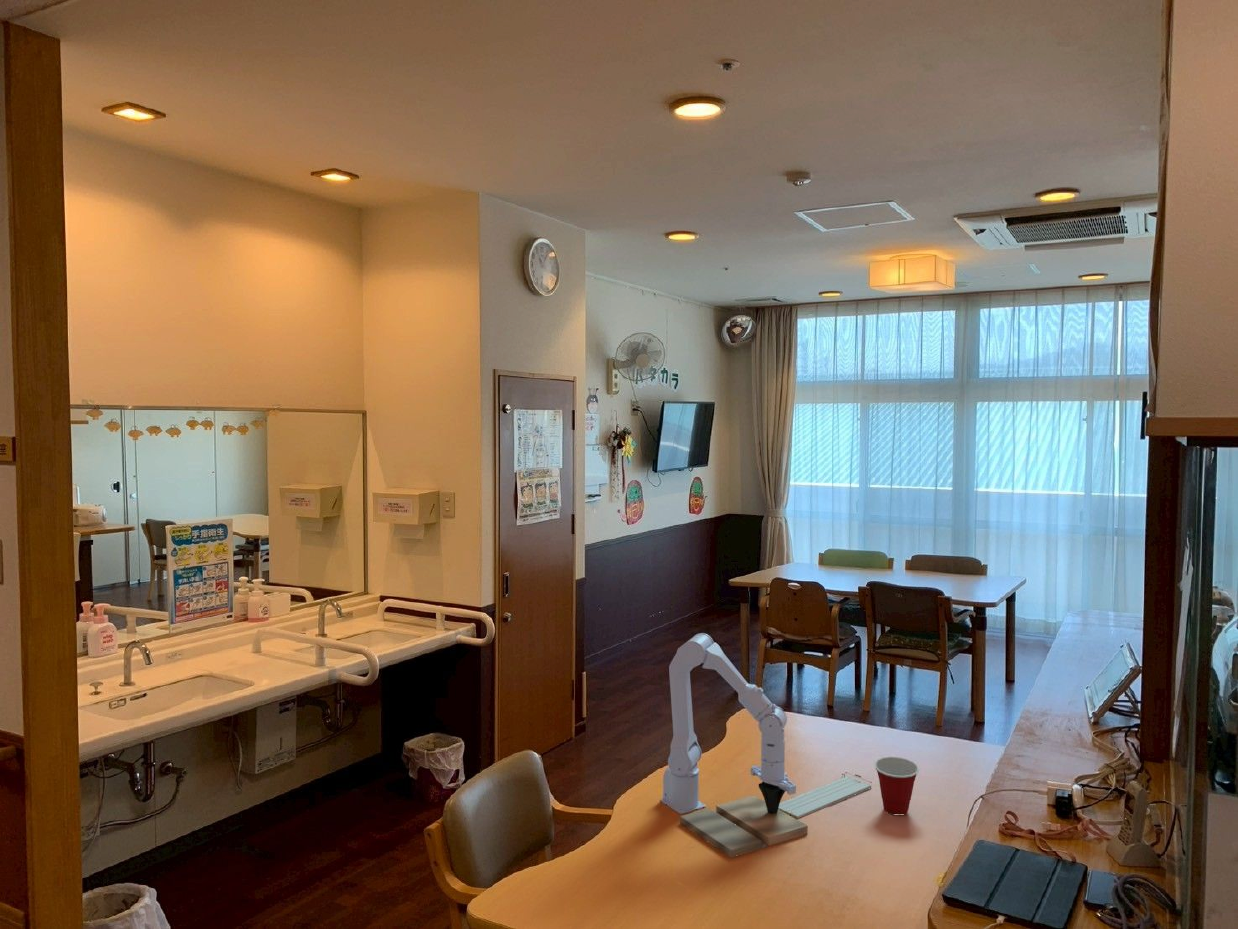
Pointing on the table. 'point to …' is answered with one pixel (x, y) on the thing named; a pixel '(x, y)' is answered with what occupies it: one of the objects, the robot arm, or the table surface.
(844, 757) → the table surface
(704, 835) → the floor panel
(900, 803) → the plastic cup
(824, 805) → the baseboard
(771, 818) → the plank
